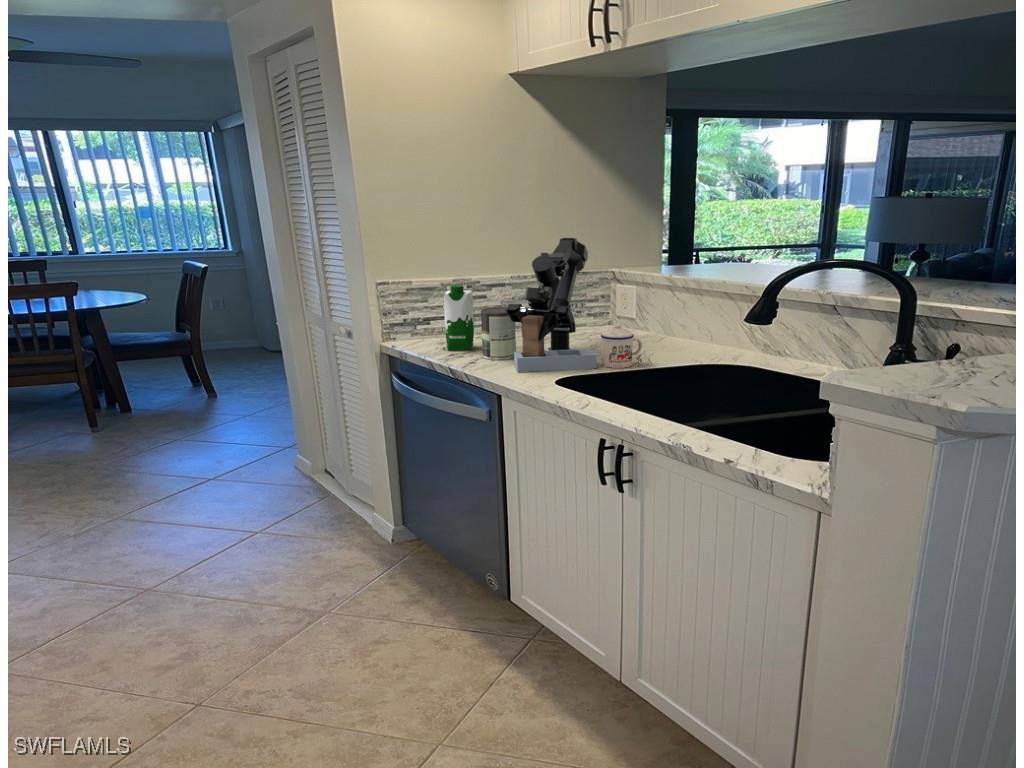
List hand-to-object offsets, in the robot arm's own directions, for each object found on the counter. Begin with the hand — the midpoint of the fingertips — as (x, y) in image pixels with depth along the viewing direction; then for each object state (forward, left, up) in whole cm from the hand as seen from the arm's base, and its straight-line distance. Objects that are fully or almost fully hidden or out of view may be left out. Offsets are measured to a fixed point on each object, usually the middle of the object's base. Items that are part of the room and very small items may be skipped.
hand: (531, 339), depth 211 cm
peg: (-1, +1, -7) cm, 7 cm away
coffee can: (-19, -7, -9) cm, 22 cm away
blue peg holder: (-1, +7, -9) cm, 11 cm away
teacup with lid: (-1, +26, -9) cm, 27 cm away
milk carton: (-33, -18, -9) cm, 38 cm away
